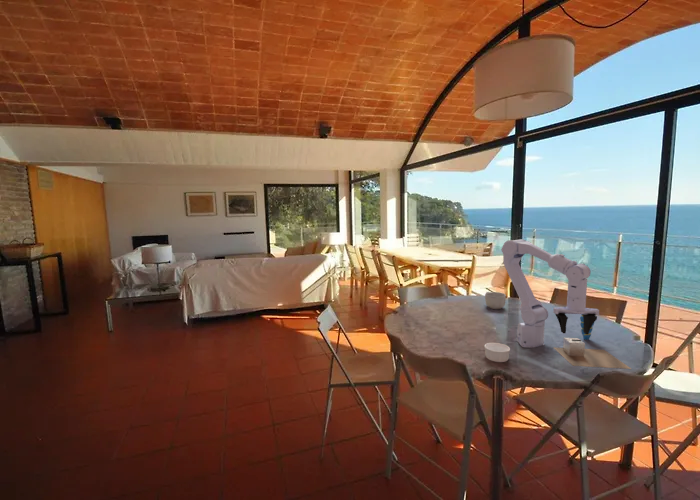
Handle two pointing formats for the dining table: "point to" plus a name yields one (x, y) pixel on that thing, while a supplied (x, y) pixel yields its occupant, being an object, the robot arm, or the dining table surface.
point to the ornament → (585, 336)
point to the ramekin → (497, 352)
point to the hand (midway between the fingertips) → (574, 333)
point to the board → (593, 359)
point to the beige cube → (573, 347)
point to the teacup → (495, 300)
